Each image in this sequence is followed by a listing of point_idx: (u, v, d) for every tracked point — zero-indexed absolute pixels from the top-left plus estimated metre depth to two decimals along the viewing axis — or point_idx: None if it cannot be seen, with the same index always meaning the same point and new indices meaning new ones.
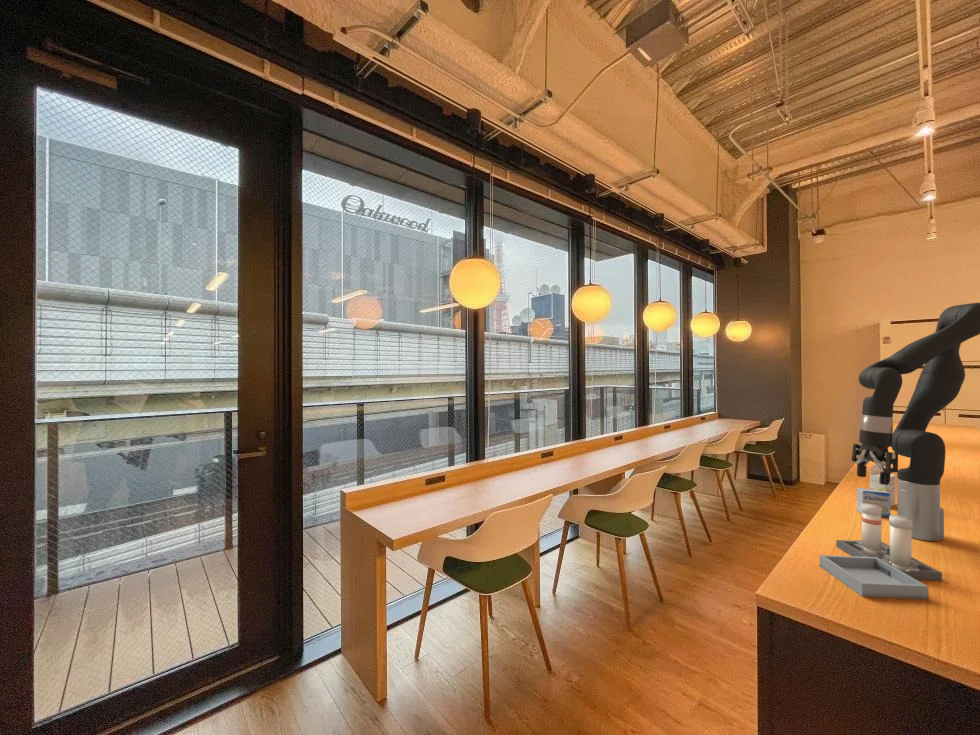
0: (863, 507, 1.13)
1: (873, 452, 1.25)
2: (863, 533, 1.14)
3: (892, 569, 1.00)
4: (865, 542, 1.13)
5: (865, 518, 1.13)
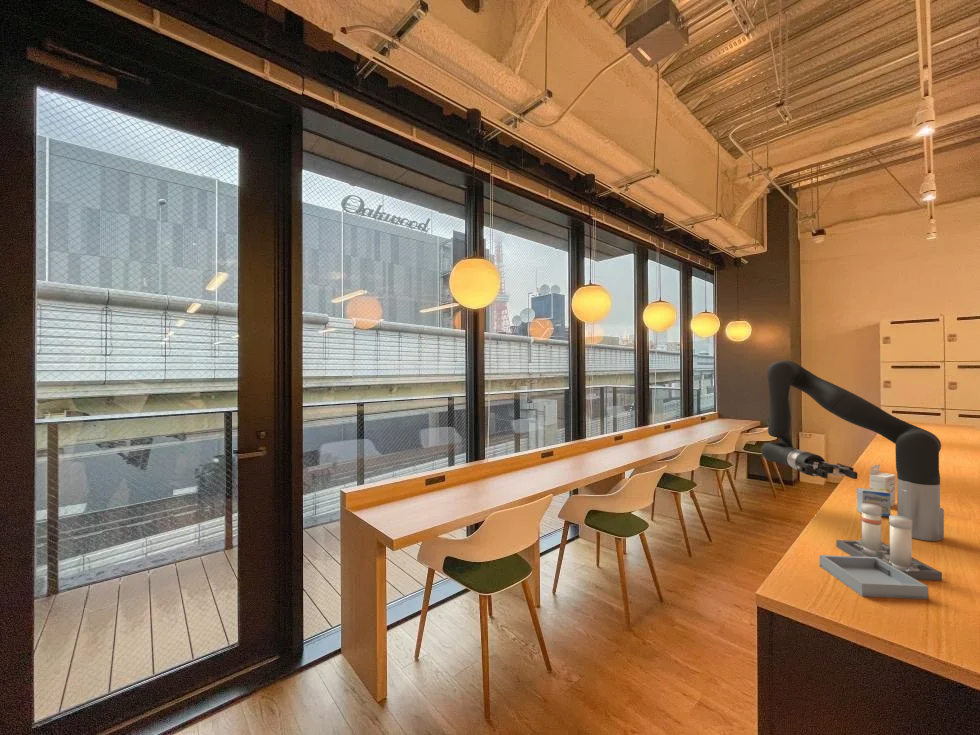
0: (863, 507, 1.13)
1: None
2: (863, 533, 1.14)
3: (892, 569, 1.00)
4: (865, 542, 1.13)
5: (865, 518, 1.13)
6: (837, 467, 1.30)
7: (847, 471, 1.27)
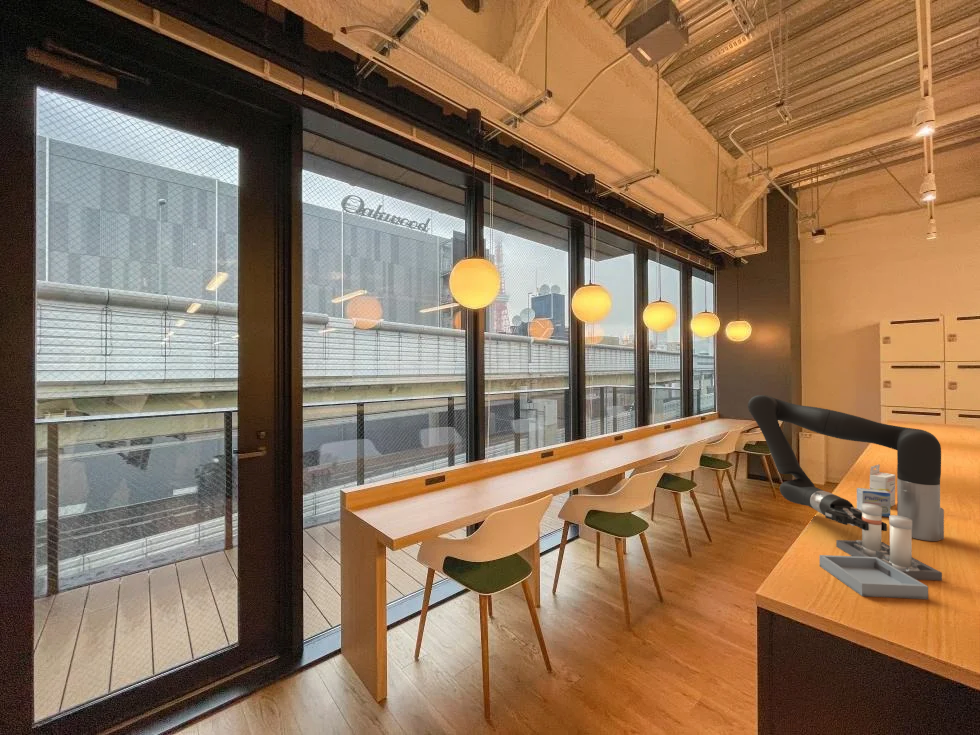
0: (863, 507, 1.13)
1: None
2: (863, 533, 1.14)
3: (892, 569, 1.00)
4: (865, 542, 1.13)
5: (865, 518, 1.13)
6: None
7: None
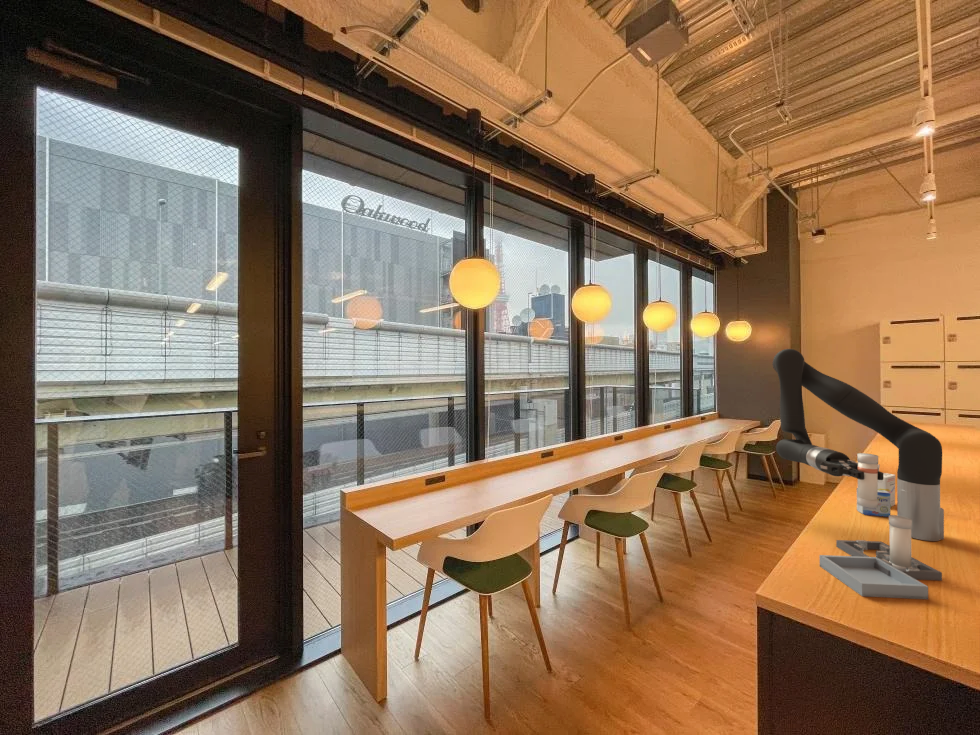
0: (859, 456, 1.10)
1: None
2: (859, 483, 1.10)
3: (892, 569, 1.00)
4: (861, 492, 1.10)
5: (861, 467, 1.10)
6: None
7: None
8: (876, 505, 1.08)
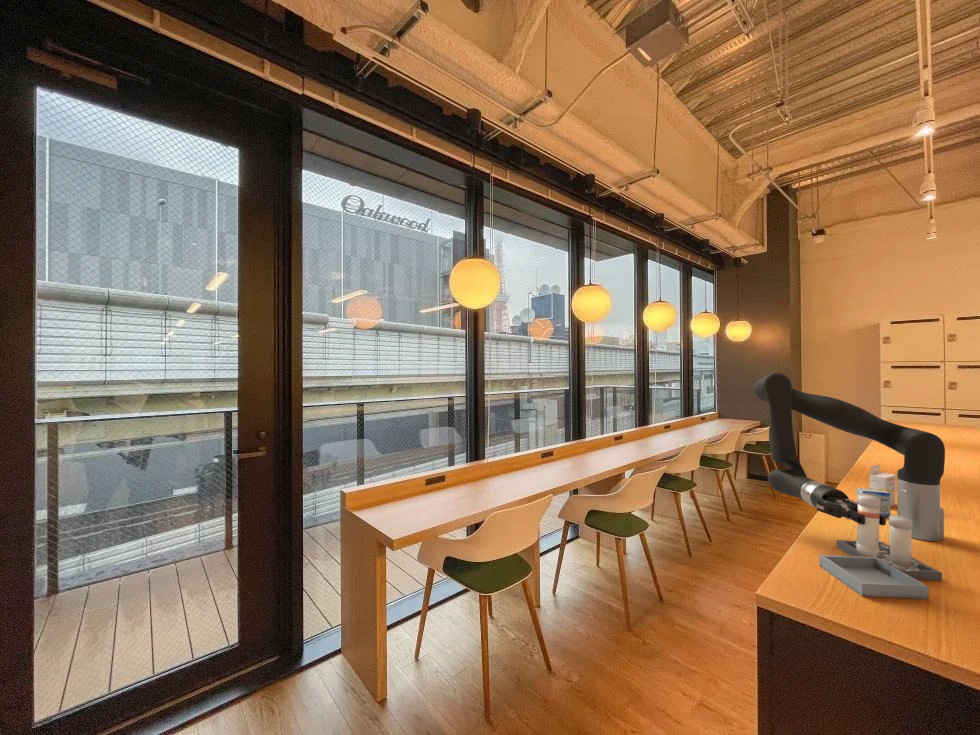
0: (859, 498, 1.00)
1: None
2: (858, 527, 1.00)
3: (892, 569, 1.00)
4: (860, 538, 1.00)
5: (861, 511, 0.99)
6: None
7: None
8: (877, 553, 0.98)
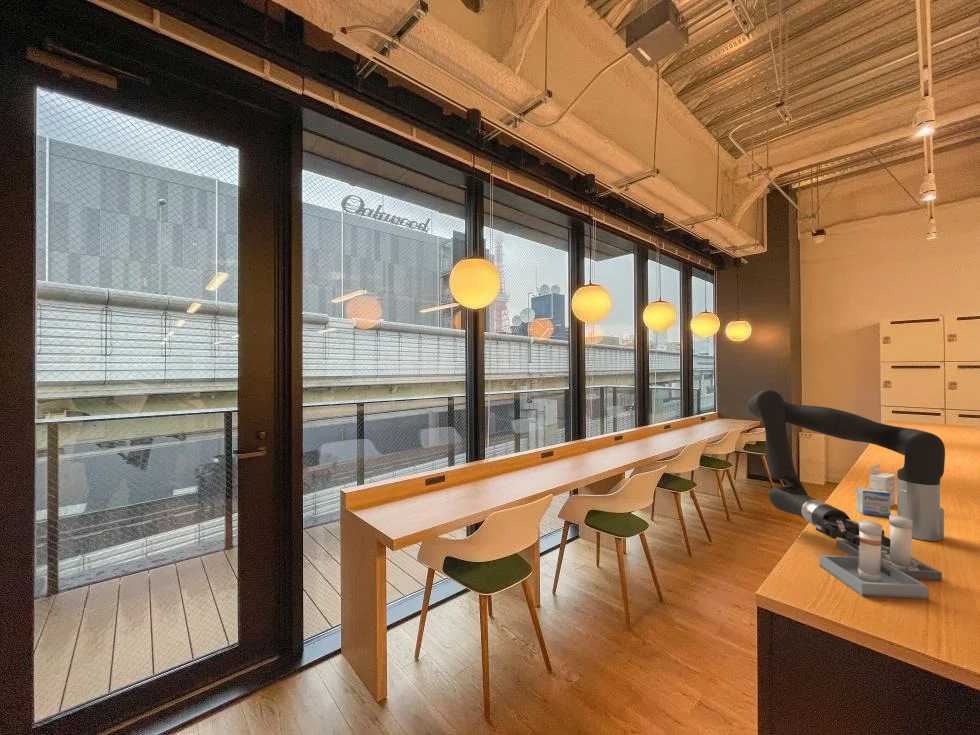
0: (861, 525, 0.99)
1: None
2: (860, 554, 1.00)
3: (892, 569, 1.00)
4: (862, 565, 0.99)
5: (863, 538, 0.99)
6: None
7: None
8: (879, 580, 0.98)
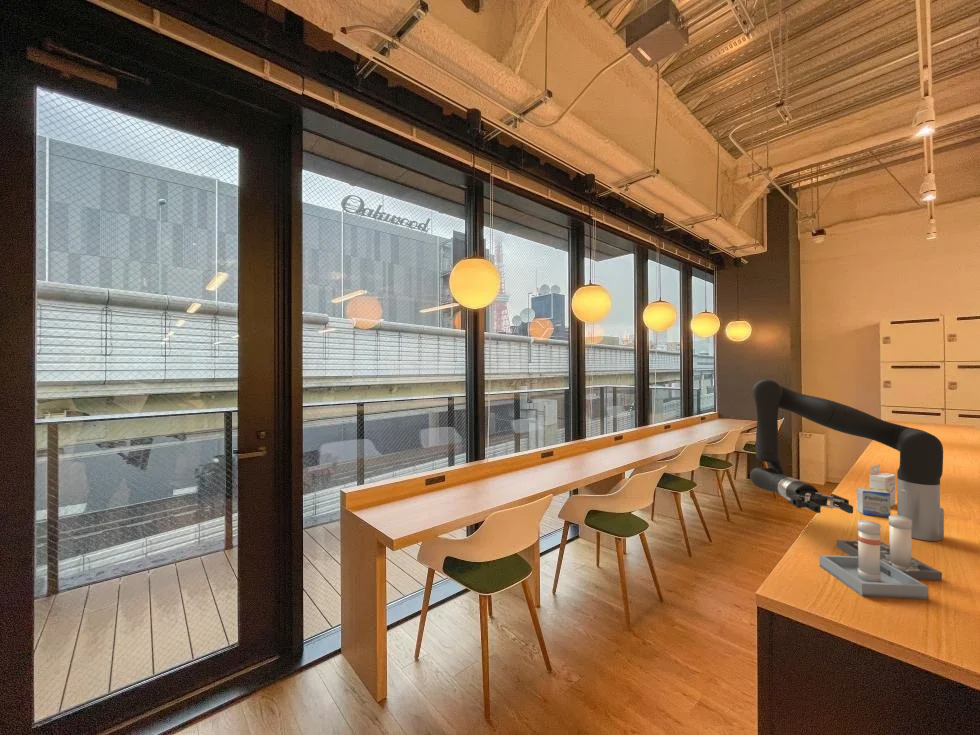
0: (859, 525, 1.00)
1: None
2: (859, 554, 1.00)
3: (892, 569, 1.00)
4: (862, 565, 1.00)
5: (862, 537, 0.99)
6: (831, 499, 1.19)
7: (842, 504, 1.16)
8: (879, 580, 0.98)
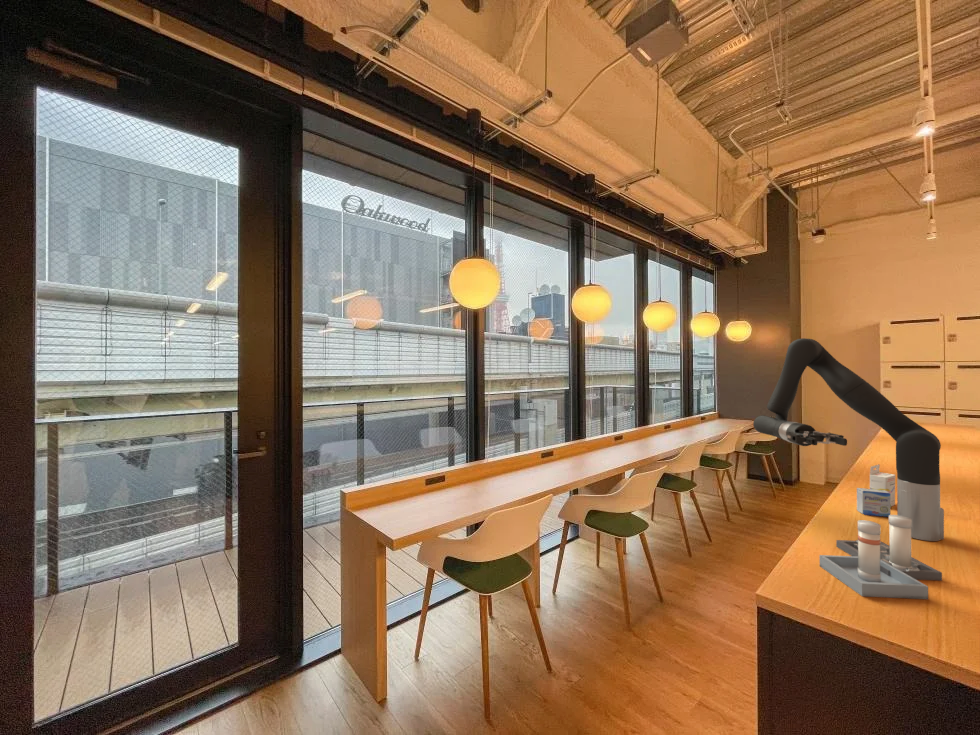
0: (859, 525, 1.00)
1: None
2: (859, 554, 1.00)
3: (892, 569, 1.00)
4: (862, 565, 1.00)
5: (862, 537, 0.99)
6: (827, 435, 1.30)
7: (837, 438, 1.27)
8: (879, 580, 0.98)
